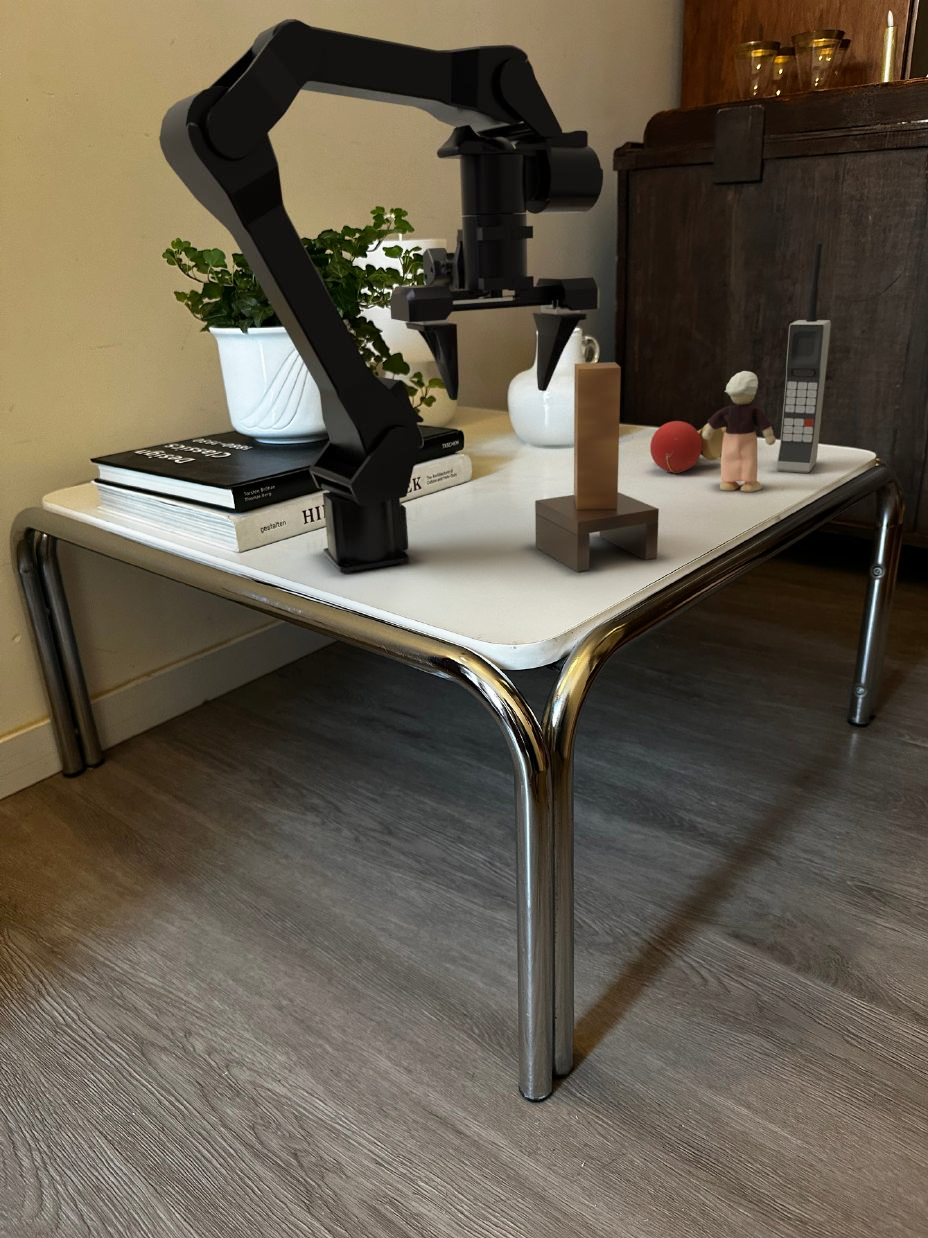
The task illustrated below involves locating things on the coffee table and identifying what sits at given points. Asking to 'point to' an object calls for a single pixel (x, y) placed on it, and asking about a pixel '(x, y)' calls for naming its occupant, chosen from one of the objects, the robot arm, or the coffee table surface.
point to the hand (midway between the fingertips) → (498, 394)
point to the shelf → (594, 529)
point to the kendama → (684, 446)
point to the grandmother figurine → (740, 434)
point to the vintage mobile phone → (804, 386)
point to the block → (596, 435)
